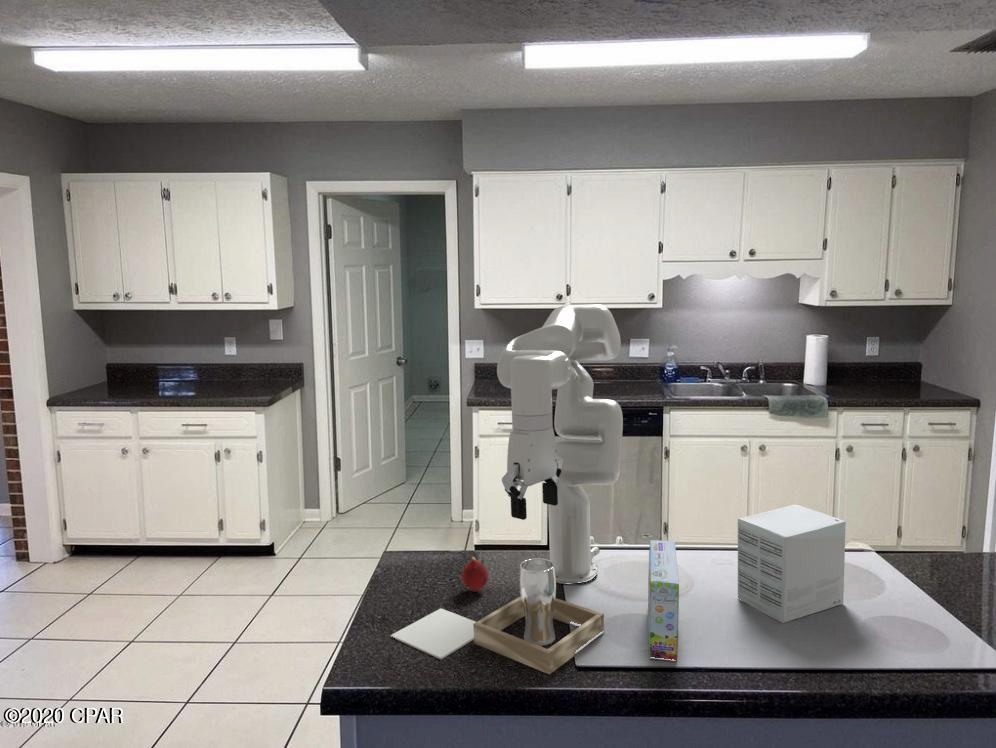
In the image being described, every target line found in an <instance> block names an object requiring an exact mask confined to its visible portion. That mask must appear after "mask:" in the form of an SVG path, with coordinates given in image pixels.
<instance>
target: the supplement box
mask: <svg viewBox="0 0 996 748" xmlns="http://www.w3.org/2000/svg"><path fill="white" fill-rule="evenodd" d="M846 525H847V523H846V521H845V520H843V519H841V518H837V517H834V516H832V515H829V514H826V513H824V512H820V511H818V510H814V509H811V508H808V507H805V506H803V505H800V504H797V503H793V504H790V505H788V506H784V507H780V508H775V509H772V510H767V511H764V512H760V513H757V514H751V515H747V516H743V517H740V518H737V599H738V598H739V599H741V600H742V601H744V602H745V604H746V603H747V604H746V605H748V604H749V605H748V606H750V605H751V606H750V607H752V606H753V607H754V608H753V607H752V608H753V609H755V608H756V610H757V611H759V612H761V613H763V614H765V615H767V616H768V617H770V618H772V619H774V620H776V621H777V622H779V623H781V624H785V623H787V622H788V623H789V622H790V621H793V620H797V619H800V618H803V617H806V616H810V615H813V614H815V613H816V614H817V613H818V612H821V611H825V610H828V609H832V608H834V607H837V606H840V605H841V606H842V605H843V604H844V590H845V588H844V587H845V586H844V585H845V584H844V583H845V558H846V555H845V554H846V553H845V552H846V551H845V550H846ZM739 599H738V600H739ZM741 600H740V601H741ZM742 601H741V602H742ZM744 602H743V603H744Z"/></svg>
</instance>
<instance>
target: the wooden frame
mask: <svg viewBox="0 0 996 748" xmlns="http://www.w3.org/2000/svg"><path fill="white" fill-rule="evenodd" d="M604 614H605V613H603V612H599V611H596V610H593V609H589V608H587V607H584V606H581V605H578V604H575V603H571V602H568V601H565V600H562V599H558V597H556V598H555V605H554V611H553V620H557V621H560V622H562V623H565V624H567V625H570V624H569V623H570V622H571V621H572V622H574V623H577V624H581V626H580V627H577V628H576V629H574V630H573V631H571V632H570V633H568V634H567V635H566V636H564V637H563V638H561V639H560V640H559V641H557V642H556V643H554V644H553V645H552V646H550V647H548V648H546V647H543V646H538V645H536V644H533V643H530V642H528V641H525V640H524V638H523V639H522V638H520V637H517V636H514V635H512V634H509V633H507V632H505V631H503V630H505V629H506V628H508V627H509V626H511V625H512V624H514V623H515V622H517V621H518V620H520V619H521V618H524V617H525V614H524V609H523V605H522V600H521V595H519V596H518V597H517V598H515V599H513V600H511V601H510V602H508V603H506V604H505V605H503V606H500V607H499V608H498V609H496V610H495V611H492V612H491V613H489V614H488V615H485V616H484V617H483V618H481V619H479V620H478V621H475V622H476V623H474V624H473V628H474V640H473V644H475V645H477V646H480V647H482V648H484V649H487V650H489V651H492V652H494V653H497V654H498V655H502V656H504V657H506V658H508V659H512V660H513V661H516V662H517V663H521V664H523V665H525V666H528V667H531V668H534V669H535V670H538V671H540V672H542V673H545V674H548V675H551V674H553V673H554V672H555V671H556V670H558V669H559V668H560V667H562V666H563V665H565V663H567V662H568V661H570V660H571V659H573V657H575V656H574V654H575V652H576V650H578V649H579V648H580V647H581V646H583V645H584V644H586V643H587V642H588V641H589V640H591V639H592V638H594V637H595V636H596V635H598V634H599V633H600V632H602V631H603V630H604V631H605V615H604Z"/></svg>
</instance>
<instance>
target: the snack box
mask: <svg viewBox="0 0 996 748" xmlns="http://www.w3.org/2000/svg"><path fill="white" fill-rule="evenodd" d="M676 549H677V548H676V541H675V540H656V539H655V540H651V539H650V540H649V551H648V579H647V580H648V583H647V585H648V586H647V587H648V588H647V594H648V595H647V616H648V617H647V619H648V620H647V623H648V626H647V627H648V650H649V652H648V653H649V654H648V656H649V655H650V657H655V658H664V659H671V660H672V659H674V660H677V661H678V645H679V644H678V643H679V642H678V641H679V615H680V612H679V610H680V609H679V607H680V606H679V605H680V604H679V603H680V584H679V583H680V581H679V580H680V579H679V570H678V569H679V568H678V562H677V551H676Z"/></svg>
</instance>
